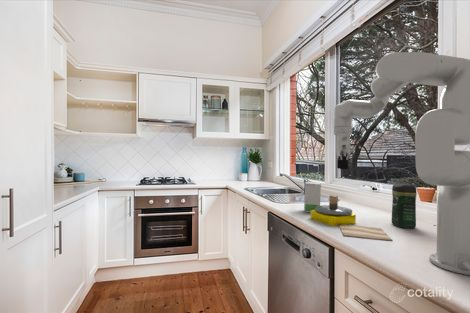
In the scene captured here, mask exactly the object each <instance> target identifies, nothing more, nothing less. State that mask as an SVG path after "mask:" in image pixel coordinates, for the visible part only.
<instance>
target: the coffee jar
mask: <svg viewBox="0 0 470 313" xmlns="http://www.w3.org/2000/svg"><path fill="white" fill-rule="evenodd" d="M391 187H392V188H391V190H392V191H391V193H392V201H391V202H392V204H391V205H392V207H391V208H392V209H391V224H392V225H394V226H395V227H399V228H403V229H416V227H417V214H416V213H417V212H416V210H417V209H416V208H417V203H416V202H417V195H418V194H417V187H416V186H414V185H413V184H409V183H404V182H400V183H399V182H398V183H397V182H396V183H395V184H393V185H392V186H391Z"/></svg>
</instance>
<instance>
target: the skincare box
mask: <svg viewBox="0 0 470 313" xmlns="http://www.w3.org/2000/svg"><path fill="white" fill-rule="evenodd" d="M304 184H305V186H304V201H303V202H304V206H303V212H304V213H311V210H315V207H316V206H321V197H322V196H321V195H322V194H321V190H322V184H321V182H310V181H305V183H304Z"/></svg>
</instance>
